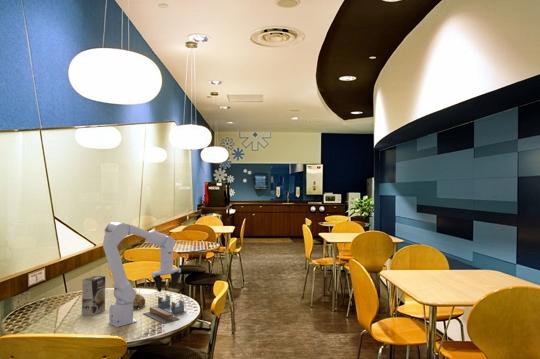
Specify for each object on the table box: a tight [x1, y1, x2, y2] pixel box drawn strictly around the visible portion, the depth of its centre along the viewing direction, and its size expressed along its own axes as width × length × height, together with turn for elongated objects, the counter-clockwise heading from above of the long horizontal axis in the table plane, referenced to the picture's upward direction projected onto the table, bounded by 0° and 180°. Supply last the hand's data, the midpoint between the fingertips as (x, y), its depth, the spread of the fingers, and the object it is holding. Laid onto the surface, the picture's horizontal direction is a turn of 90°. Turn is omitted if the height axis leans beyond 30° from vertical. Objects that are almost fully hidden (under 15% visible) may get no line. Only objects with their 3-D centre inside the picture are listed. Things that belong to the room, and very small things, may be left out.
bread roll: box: [133, 293, 146, 310], centre depth 198 cm, size 10×10×8 cm
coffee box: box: [81, 275, 106, 316], centre depth 189 cm, size 9×6×16 cm
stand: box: [155, 294, 187, 317], centre depth 193 cm, size 6×17×6 cm, turn 46°
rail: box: [149, 305, 174, 321], centre depth 183 cm, size 2×16×2 cm, turn 46°
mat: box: [142, 311, 181, 325], centre depth 183 cm, size 8×18×1 cm, turn 46°
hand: (166, 289), depth 191 cm, fingers open, 7 cm apart
